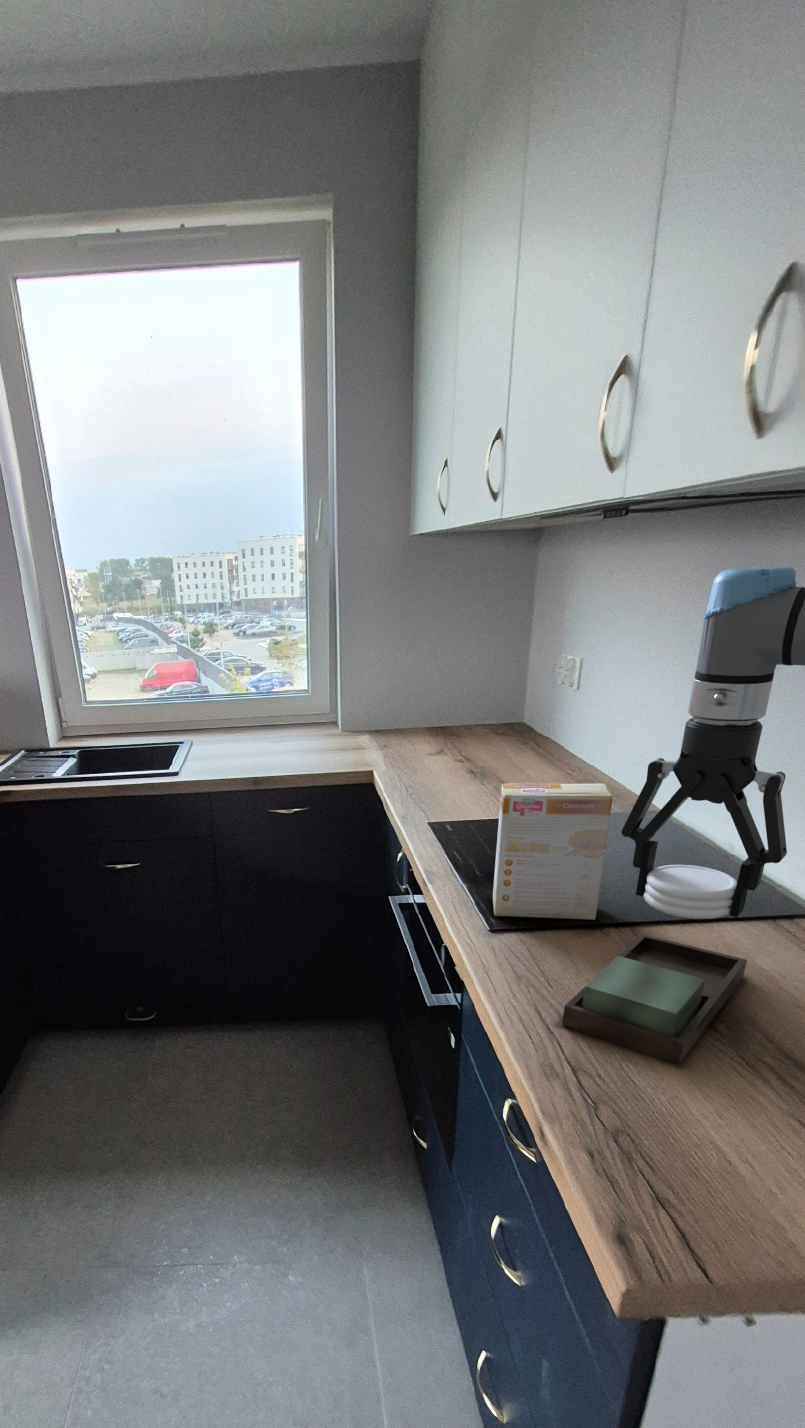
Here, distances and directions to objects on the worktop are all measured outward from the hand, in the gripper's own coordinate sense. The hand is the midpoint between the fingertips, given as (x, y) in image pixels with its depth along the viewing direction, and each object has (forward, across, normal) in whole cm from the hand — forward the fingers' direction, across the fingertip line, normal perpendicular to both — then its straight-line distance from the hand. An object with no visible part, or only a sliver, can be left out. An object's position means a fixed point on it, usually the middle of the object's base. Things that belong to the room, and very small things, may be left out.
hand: (687, 902), depth 98 cm
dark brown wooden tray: (+11, 0, -6) cm, 13 cm away
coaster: (0, 0, 0) cm, 0 cm away
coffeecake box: (+11, -23, +12) cm, 28 cm away
